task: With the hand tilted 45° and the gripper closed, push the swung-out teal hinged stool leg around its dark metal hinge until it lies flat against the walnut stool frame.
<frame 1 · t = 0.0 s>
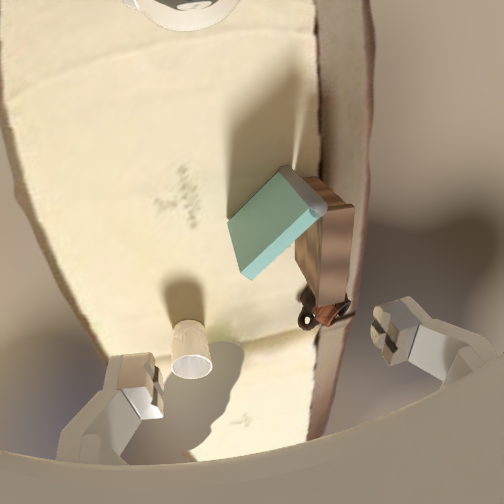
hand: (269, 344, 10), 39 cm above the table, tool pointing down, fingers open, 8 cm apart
hinged leg: (271, 215, 43), point 7 cm above the table, hinge at -50.0°
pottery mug: (316, 297, 65), on the table
white cup: (189, 329, 63), on the table
stool frame: (305, 220, 54), on the table
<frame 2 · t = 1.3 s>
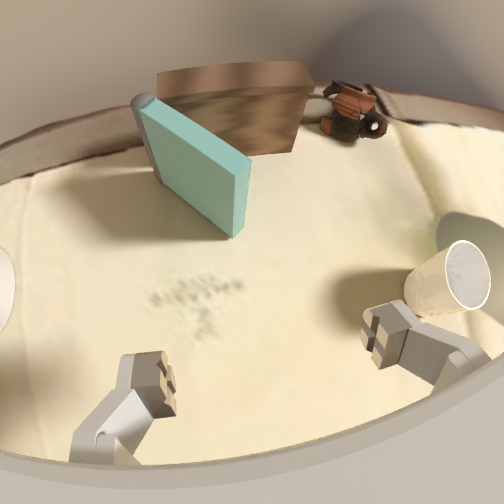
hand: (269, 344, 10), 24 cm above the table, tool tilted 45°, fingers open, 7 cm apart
hinged leg: (190, 169, 31), point 8 cm above the table, hinge at -50.0°
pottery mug: (347, 125, 45), on the table
white cup: (421, 292, 37), on the table
stool frame: (232, 146, 41), on the table
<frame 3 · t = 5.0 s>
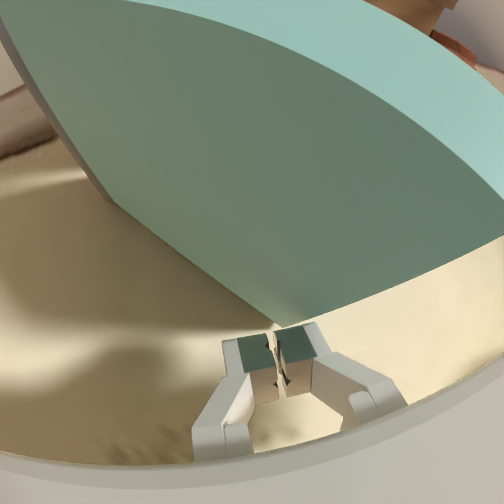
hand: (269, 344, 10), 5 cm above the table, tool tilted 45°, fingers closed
hinged leg: (161, 165, 10), point 8 cm above the table, hinge at -47.6°, touching gripper
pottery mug: (430, 99, 23), on the table
stool frame: (258, 120, 20), on the table
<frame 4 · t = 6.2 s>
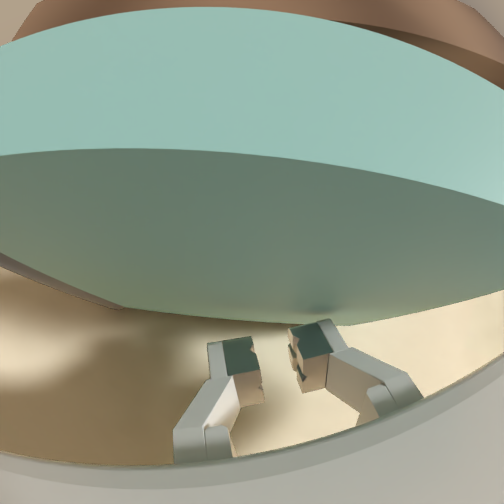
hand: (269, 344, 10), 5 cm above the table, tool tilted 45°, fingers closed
hinged leg: (214, 265, 9), point 8 cm above the table, hinge at -16.9°, touching gripper
stool frame: (273, 198, 18), on the table
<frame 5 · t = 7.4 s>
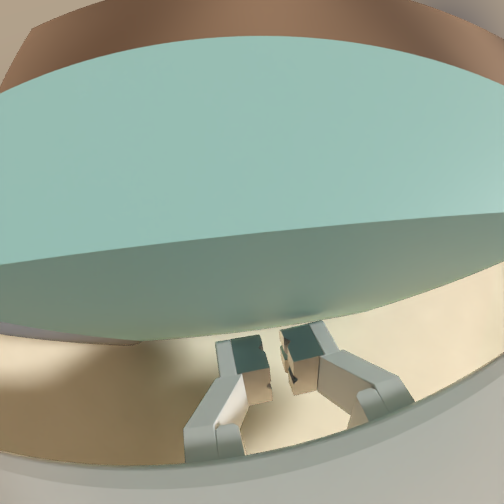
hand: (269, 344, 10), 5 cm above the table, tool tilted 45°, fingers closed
hinged leg: (238, 287, 9), point 8 cm above the table, hinge at -4.3°, touching gripper
stool frame: (289, 231, 17), on the table
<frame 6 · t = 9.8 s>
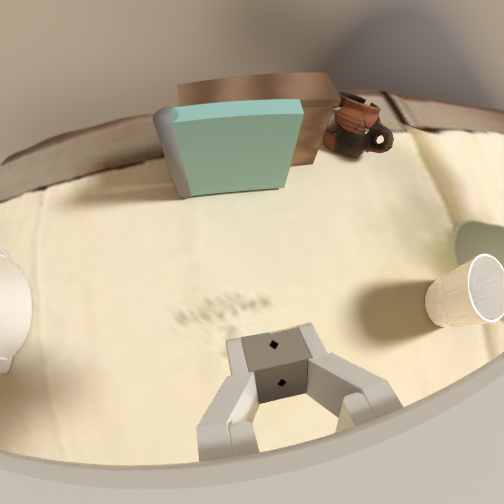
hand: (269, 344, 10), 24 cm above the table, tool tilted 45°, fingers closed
hinged leg: (228, 153, 32), point 8 cm above the table, hinge at -4.3°
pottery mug: (351, 138, 43), on the table
white cup: (442, 303, 36), on the table
stool frame: (253, 158, 41), on the table
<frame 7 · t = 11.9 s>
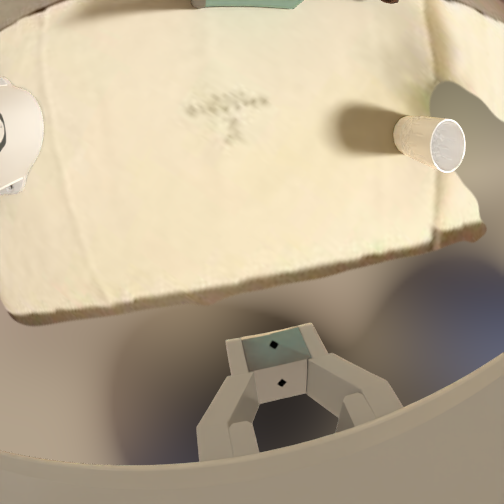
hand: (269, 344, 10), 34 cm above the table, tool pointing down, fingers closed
white cup: (407, 135, 43), on the table
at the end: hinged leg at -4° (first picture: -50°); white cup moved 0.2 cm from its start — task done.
